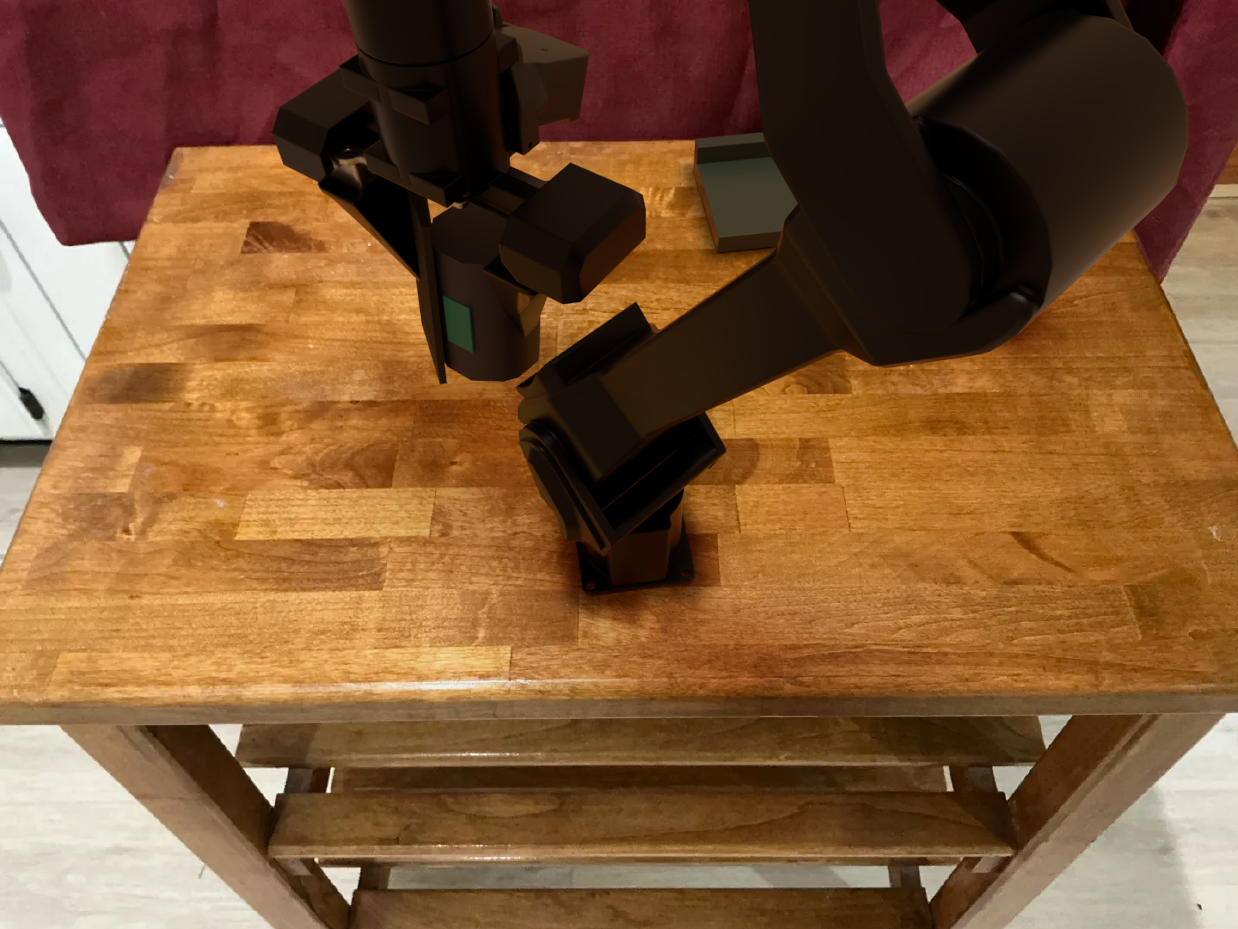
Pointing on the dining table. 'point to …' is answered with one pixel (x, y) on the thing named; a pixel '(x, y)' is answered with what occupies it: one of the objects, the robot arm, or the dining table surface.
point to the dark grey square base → (741, 191)
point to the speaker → (466, 296)
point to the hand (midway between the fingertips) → (478, 304)
